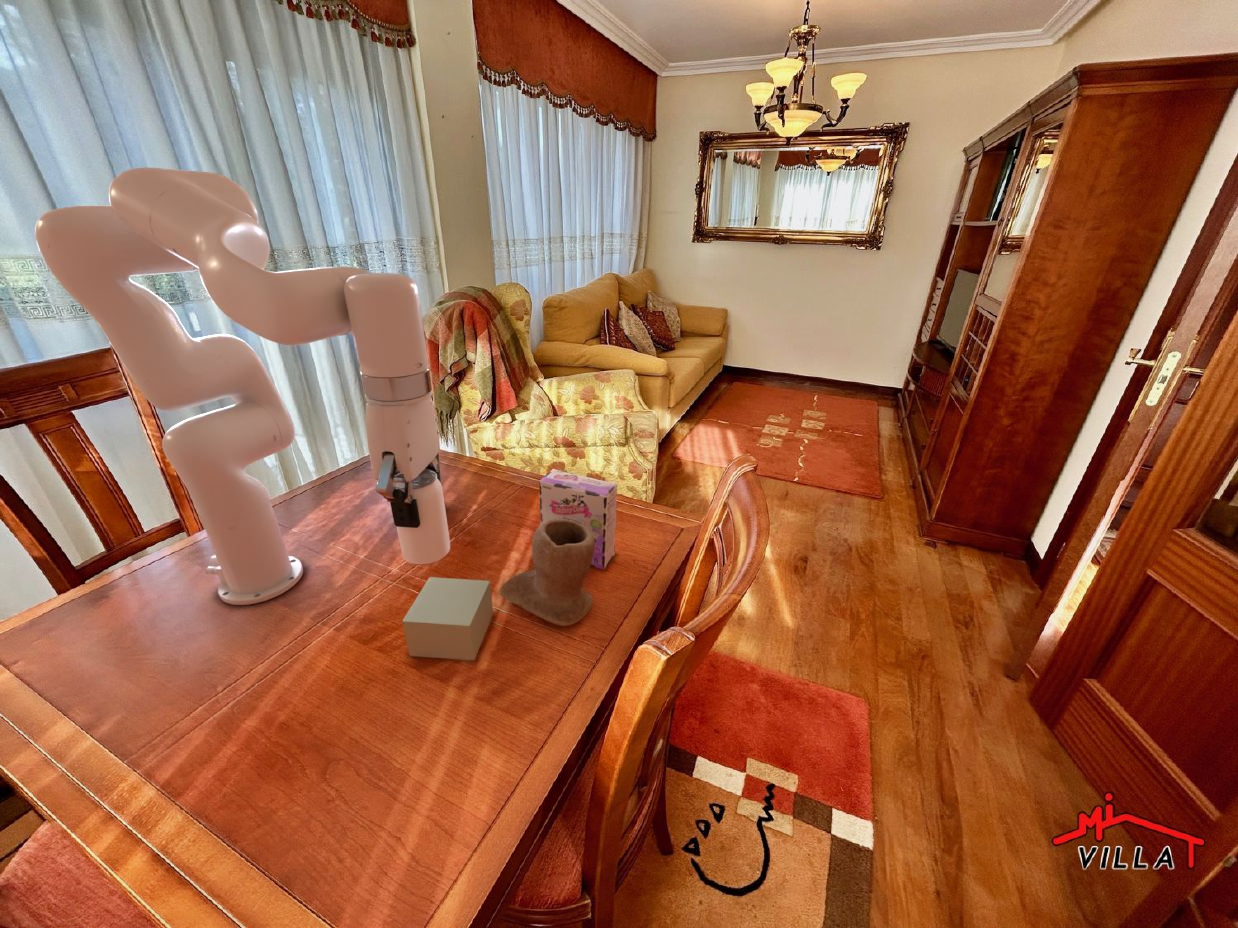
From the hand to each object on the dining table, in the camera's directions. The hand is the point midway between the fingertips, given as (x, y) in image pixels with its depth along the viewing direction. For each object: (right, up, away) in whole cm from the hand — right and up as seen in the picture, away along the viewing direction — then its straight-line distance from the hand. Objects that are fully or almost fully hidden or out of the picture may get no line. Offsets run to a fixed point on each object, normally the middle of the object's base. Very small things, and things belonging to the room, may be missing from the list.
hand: (419, 510), depth 68 cm
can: (0, -7, +3) cm, 7 cm away
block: (+1, -21, +12) cm, 24 cm away
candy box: (+19, -12, +32) cm, 39 cm away
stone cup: (+16, -18, +20) cm, 31 cm away
